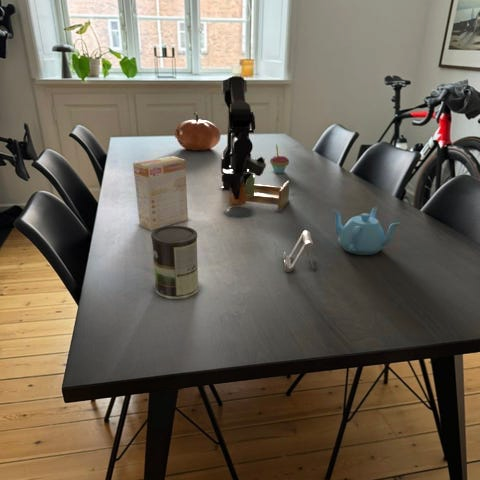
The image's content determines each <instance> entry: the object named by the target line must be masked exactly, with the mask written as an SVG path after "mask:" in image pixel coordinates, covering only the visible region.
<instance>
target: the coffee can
mask: <svg viewBox="0 0 480 480" xmlns="http://www.w3.org/2000/svg"><path fill="white" fill-rule="evenodd" d="M150 239H151V245H152V246H151V247H152V256H153V257H152V258H153V268H154V269H153V270H154V281H155V292H156V294H157V295H158V296H160V297H162V298H165V299H169V300H183V299H188V298H191V297H192V296H194V295H196V294H197V293H198V292H199V273H198V272H199V271H198V270H199V269H198V232H197V230H195V229H194V228H191V227H188V226H182V225H168V226H164V227H161V228H157V229H154V230H152V232H151V234H150Z"/></svg>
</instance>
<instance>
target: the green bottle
mask: <svg viewBox="0 0 480 480" xmlns="http://www.w3.org/2000/svg"><path fill="white" fill-rule="evenodd" d="M247 171H248V170H247ZM248 173H252V172H250V171H248ZM255 180H256V175H254V173H252V175H251V176H250V177H249V178H248V179H247V181H246V194H254V184H256V181H255Z"/></svg>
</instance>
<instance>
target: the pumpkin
mask: <svg viewBox="0 0 480 480" xmlns="http://www.w3.org/2000/svg"><path fill="white" fill-rule="evenodd" d="M193 115H194V116H195V119H190V120H184V121H183V122H181V123H179V124H178V125H177V127H176V128H175V130H174V138H175V139H176V140H177V142H178V144H179V145H180V146H181V147H182V148H184V149H185V150H189V151H191V150H192V151H196V152H197V151H206V150H210V149H213V148H215V146H217V145H218V144H219V142H220V141H221V136H222V135H221V131H220V129H219V128H218V127H217V126H216V125H215V124H214V123H212V122H211V121H209V120H202V119H199V115H198V112H196V111H194V112H193Z"/></svg>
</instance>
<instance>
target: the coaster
mask: <svg viewBox="0 0 480 480" xmlns="http://www.w3.org/2000/svg"><path fill="white" fill-rule="evenodd" d="M252 213H253V211H252V210H251V208H248V207H245V206H230V207H228V208H226V209H225V214H226V216H229V217H232V218H247V217H249V216H252Z"/></svg>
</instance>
